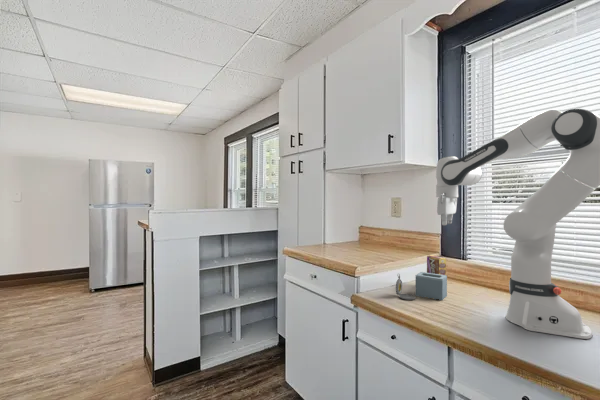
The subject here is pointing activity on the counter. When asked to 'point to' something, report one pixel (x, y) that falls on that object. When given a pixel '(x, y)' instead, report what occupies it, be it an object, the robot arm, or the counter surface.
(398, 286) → the pocket watch
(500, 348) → the counter surface
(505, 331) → the counter surface
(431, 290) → the blue grey rectangular container
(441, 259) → the candy box
